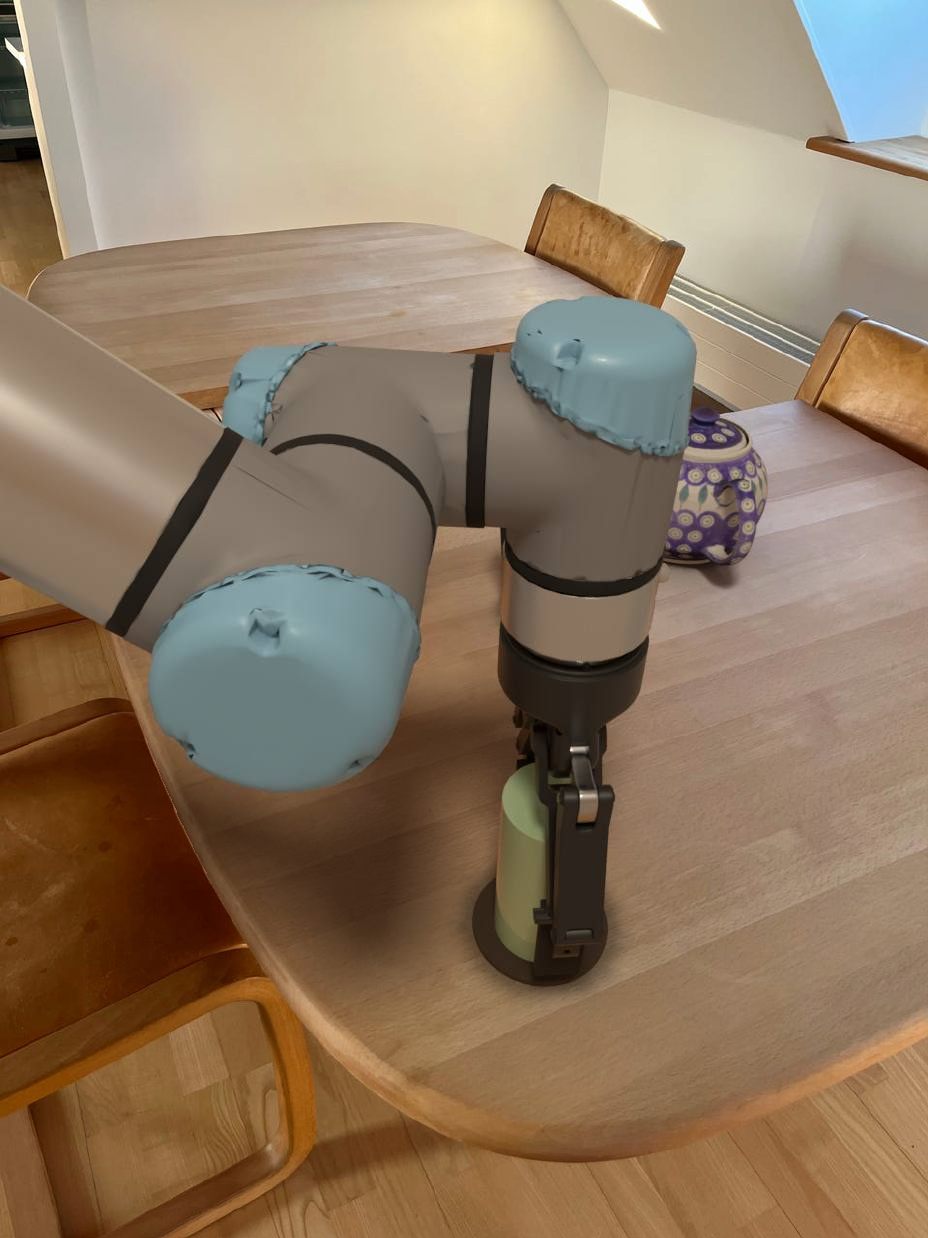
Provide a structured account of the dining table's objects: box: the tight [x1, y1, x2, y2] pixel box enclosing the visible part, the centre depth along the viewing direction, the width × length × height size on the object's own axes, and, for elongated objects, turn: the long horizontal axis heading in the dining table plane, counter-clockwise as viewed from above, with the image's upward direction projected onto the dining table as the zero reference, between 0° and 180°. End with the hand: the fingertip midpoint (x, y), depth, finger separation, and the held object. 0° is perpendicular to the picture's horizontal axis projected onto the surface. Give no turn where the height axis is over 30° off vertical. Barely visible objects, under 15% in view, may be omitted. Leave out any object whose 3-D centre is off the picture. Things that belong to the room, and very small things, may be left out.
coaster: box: [471, 876, 609, 987], centre depth 62 cm, size 9×9×1 cm
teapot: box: [663, 406, 769, 567], centre depth 96 cm, size 25×15×15 cm, turn 9°
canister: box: [494, 762, 604, 962], centre depth 59 cm, size 6×6×12 cm
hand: (543, 893), depth 60 cm, fingers open, 10 cm apart
